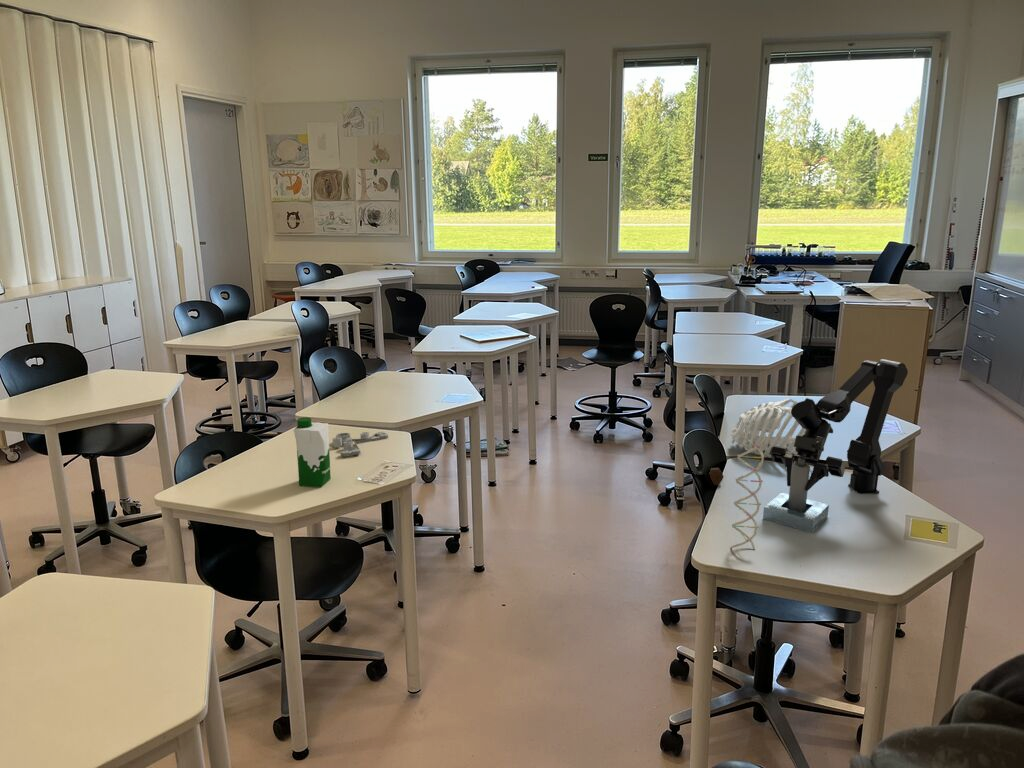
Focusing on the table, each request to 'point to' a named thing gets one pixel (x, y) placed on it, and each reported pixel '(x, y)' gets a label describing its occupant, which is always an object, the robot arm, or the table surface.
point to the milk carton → (312, 453)
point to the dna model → (749, 492)
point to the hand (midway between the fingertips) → (797, 488)
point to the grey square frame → (796, 513)
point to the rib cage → (766, 427)
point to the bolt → (716, 475)
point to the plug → (798, 485)
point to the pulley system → (347, 443)
